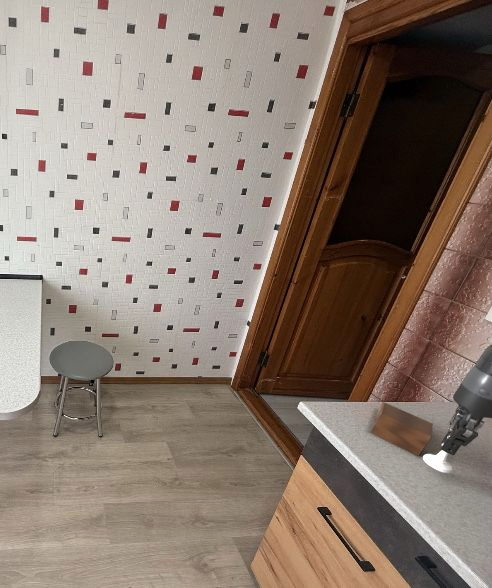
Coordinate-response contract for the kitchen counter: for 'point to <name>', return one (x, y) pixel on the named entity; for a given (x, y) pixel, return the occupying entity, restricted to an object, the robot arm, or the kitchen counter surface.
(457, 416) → the robot arm
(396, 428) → the wood grain box
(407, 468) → the kitchen counter surface
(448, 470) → the chess piece
